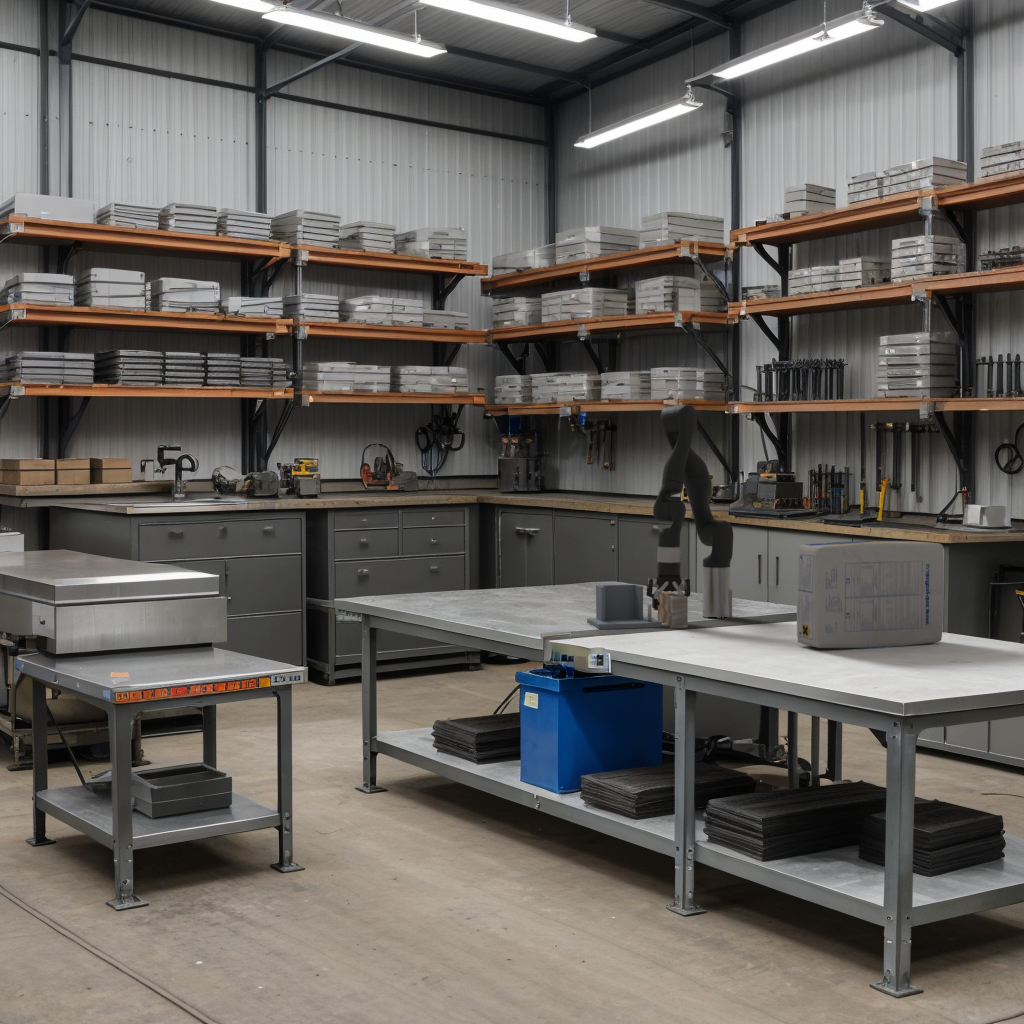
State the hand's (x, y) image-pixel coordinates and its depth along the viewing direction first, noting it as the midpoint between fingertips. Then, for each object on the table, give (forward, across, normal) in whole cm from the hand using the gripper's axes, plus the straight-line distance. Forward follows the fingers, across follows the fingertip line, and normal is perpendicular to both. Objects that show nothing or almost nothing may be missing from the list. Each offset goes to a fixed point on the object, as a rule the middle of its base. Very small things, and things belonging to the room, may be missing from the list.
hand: (668, 609), depth 399 cm
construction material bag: (+5, -44, +56) cm, 71 cm away
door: (+5, -1, +1) cm, 5 cm away
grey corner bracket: (+5, +15, 0) cm, 16 cm away
